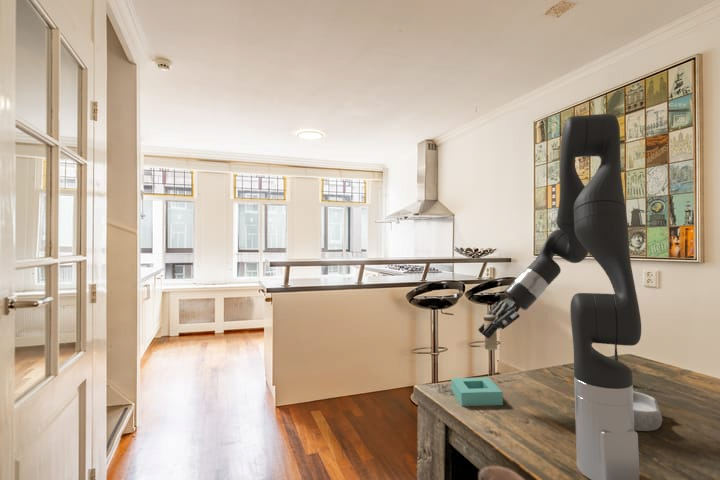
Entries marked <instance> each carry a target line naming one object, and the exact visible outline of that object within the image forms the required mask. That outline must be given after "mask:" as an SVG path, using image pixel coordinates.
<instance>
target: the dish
mask: <svg viewBox="0 0 720 480" xmlns="http://www.w3.org/2000/svg"><path fill="white" fill-rule="evenodd" d="M633 410H634V431H635V432H638V431H639V432H652V431H656V430H658V429H659V428H660V427H661V426H662V422H663V417H662V414H661V411H660V408H659V404H658V401H657V399H656V398H655V397H653V396H650V395H648V394H646V393H642V392H639V391H636V392H634V391H633Z"/></svg>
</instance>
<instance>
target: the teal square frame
mask: <svg viewBox="0 0 720 480" xmlns="http://www.w3.org/2000/svg"><path fill="white" fill-rule="evenodd" d="M450 381H451V382H450V383H451V384H450V385H451V388H450V389H451V392H452V393H453V395H454V396H455V398H456V400H457V401H458V403H459V404H460V406H461V407H475V406H477V407H478V406H503V405H504V401H503V400H504V399H503V398H504V396H503V391H502V390H501V388H499V387H498V386H497V385H496V384H495V382H494V381H493V380H492V379H490V378H489V376H488V377H457V378H455V377H451V378H450Z"/></svg>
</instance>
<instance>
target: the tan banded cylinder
mask: <svg viewBox="0 0 720 480" xmlns="http://www.w3.org/2000/svg"><path fill="white" fill-rule="evenodd" d="M495 318H496V316H495V315H487V314H485V315H483V323H484V330H485V329H486V328H487V327H488V326H489V324H491V323H492V321H493V320H494V319H495ZM497 330H498V329H497ZM497 330H496V331H495V332H494V334H493V335H492V336H491V337H490V338H486V337H485V336H484V349H485V350H488V351H496V350H498V335H497V334H498V333H497V332H498V331H497Z"/></svg>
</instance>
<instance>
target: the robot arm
mask: <svg viewBox="0 0 720 480" xmlns="http://www.w3.org/2000/svg"><path fill="white" fill-rule="evenodd" d="M620 129H621V127H620V122H619V119H618V118H617V116H616V115H614V114H612V113H611V114H610V113H609V114H608V113H605V114H604V113H601V114H600V113H599V114H584V115H573V116H570V117H568V118H567V119H566V120H565V122H564V124H563V127H562V132H561V138H560V159H559V160H560V162H559V167H560V168H559V183H560V184H559V188H560V189H559V190H560V191H559V201H558V209H557V215H556V216H557V217H556V226H557V227H558V228H559V229H556V230H553V231H552V232H551V233H550V234H549V235H548V236H547V238H546V240H545V242H544V243H543V246H542V247H541V250H540V251H539V253H538V254H537V257H536V258H535V260H533V261H532V262H531V263H530V265H528V267H527V268H525V270H523V271H522V272H521V273H520V274H518V276H516V277H515V279H514V280H513V281H512V282H511V283H510V284H509V285H508V286H507V287H506V288H505V289H504V290H503V294H504V295H505V296H506V297H505V299H502V300H501V301H500V302H499V301H496V302H494V303H493V305H492V306H491V308H490V310H489V311H488V312H487V314H486V315H495V316H496V318H495V319H494V320H493V321H492V323H491V324H489V326H488V327H487V328H486V329H485V330H484V322H483V323H482V324H481V326H480V327H479V328H478V329H477V330H478V332H479V333H480V334H482V335H483V336H484V338H485V337H486V338H490V337H491V336H492V335H493V334H494V332H495V331H496V330H504V329H505V328H507V327H508V326H510V325H511V324H512V323H513V322H515V321H516V320H518V318H520V317H521V315H520V314H519V313H518V312H519V310H522V311H527V310H528V309H529V308H530V307H531V306H532V305H533V304H534V303H535V302H536V301H537V300H538V298H540V297H541V296H542V295H543V293H544V292H545V291H546V289H547V288H548V287H549V286H550V285H551V284H552V282H553V281H555V279H556V278H558V276H559V275H560V273H561V267H560V265H559V264H558V263H557V262H556V261H555V260H554V256H555V255H556V256H558V257H560V258H561V259H563V260H565V261H567V262H569V263H572V264H577V263H581V262H583V260H585V259H586V257H587V256H588V254H589V255H591V257H592V258H593V259H594V260H595V261H596V262H597V263H598V264H599V266H600V267H601V268H602V270H603V271H604V272H605V274H606V277H608V279H609V282H610V283H611V286H612V288H613V292H614V293H597V292H596V293H593V292H590V293H589V292H577V293H576V294H574V295H573V296H572V298H571V300H570V306H569V307H570V311H569V312H570V313H569V314H570V323H571V325H570V326H571V335H572V344H573V379H574V380H573V381H574V384H573V385H574V419H575V420H574V423H575V444H576V447H575V449H576V468H577V470H578V471H579V472H580V473H581V474H582V475H583V476H584V477H586V478H587V479H589V480H640V460H639V433H637V432H638V431H636V430H634V410H633V389H634V385H633V380H634V379H633V378H634V377H633V371H632V369H631V368H630V367H629V366H628V365H627V364H625V363H623V362H621V361H619V360H618V361H617V360H614V358H611V357H609V356H606V355H604V354H603V353H602V352H599V351H598V350H597V349H595V348H594V346H593V345H592V344H600V345H601V344H603V345H617V346H628V347H629V346H635V345H638V344H639V342H640V340H641V336H642V320H641V319H642V317H641V312H640V307H639V300H638V295H637V291H636V285H635V279H634V273H633V269H632V262H631V253H630V242H629V239H630V238H629V227H628V226H629V224H628V217H627V216H628V215H627V206H626V200H625V193H624V187H623V181H622V166H621V165H622V164H621V163H622V162H621V130H620ZM580 157H581V158H582V157H583V158H584V157H587V158H588V157H599V158H600V164H599V165H598V168H597V170H596V172H595V174H594V175H593V176H592V177H591V178H590V180H589V181H588V183H586V185H584V183H583V181H582V179H581V178H580V176H579V174H578V172H577V168H576V158H580Z"/></svg>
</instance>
